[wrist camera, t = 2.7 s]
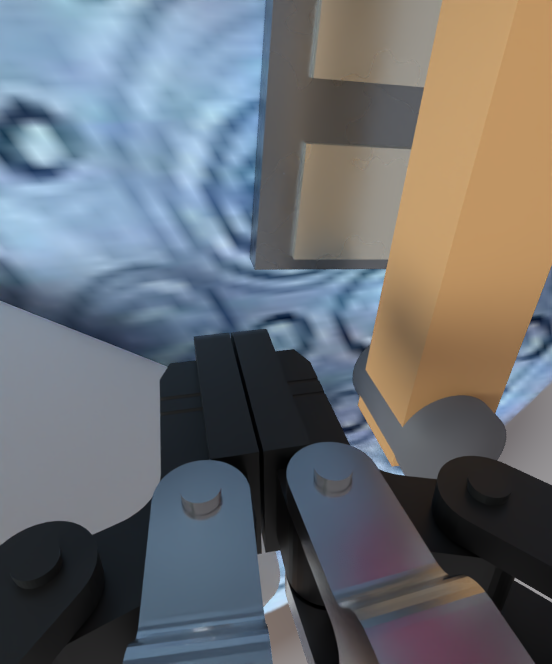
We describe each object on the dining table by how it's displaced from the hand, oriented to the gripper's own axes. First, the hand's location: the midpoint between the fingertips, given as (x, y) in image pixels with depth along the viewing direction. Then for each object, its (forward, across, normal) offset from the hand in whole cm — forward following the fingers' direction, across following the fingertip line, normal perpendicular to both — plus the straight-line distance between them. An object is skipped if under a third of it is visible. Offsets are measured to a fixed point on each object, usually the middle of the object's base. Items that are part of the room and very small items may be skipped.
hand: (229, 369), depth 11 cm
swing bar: (+5, -7, -2) cm, 9 cm away
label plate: (+11, -7, -4) cm, 13 cm away
